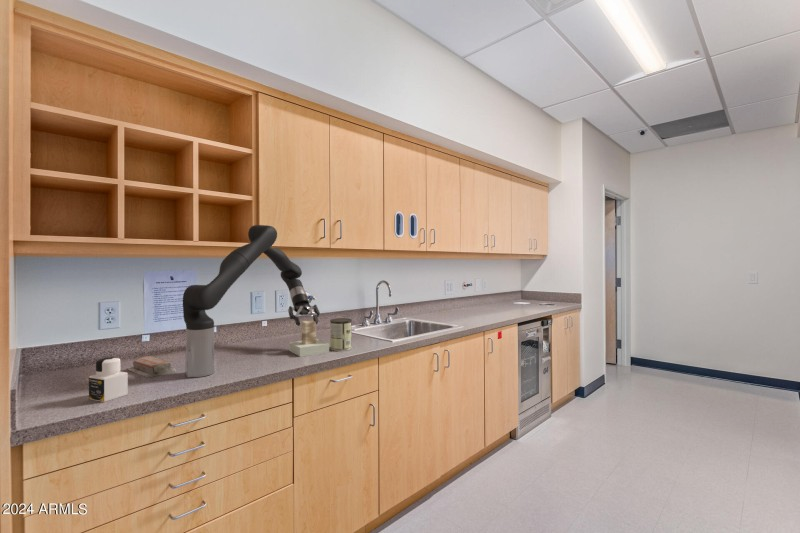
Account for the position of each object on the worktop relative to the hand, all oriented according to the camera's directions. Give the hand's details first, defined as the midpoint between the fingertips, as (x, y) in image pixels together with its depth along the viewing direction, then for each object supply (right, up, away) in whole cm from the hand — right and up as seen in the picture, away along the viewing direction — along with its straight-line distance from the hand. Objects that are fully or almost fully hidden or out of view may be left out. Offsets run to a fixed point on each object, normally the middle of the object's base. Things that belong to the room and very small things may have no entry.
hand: (307, 324), depth 181 cm
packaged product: (-52, -14, -33) cm, 63 cm away
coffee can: (+15, -13, +5) cm, 20 cm away
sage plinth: (+1, -13, -1) cm, 13 cm away
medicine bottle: (-47, -14, -62) cm, 79 cm away
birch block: (+1, -9, -1) cm, 9 cm away
